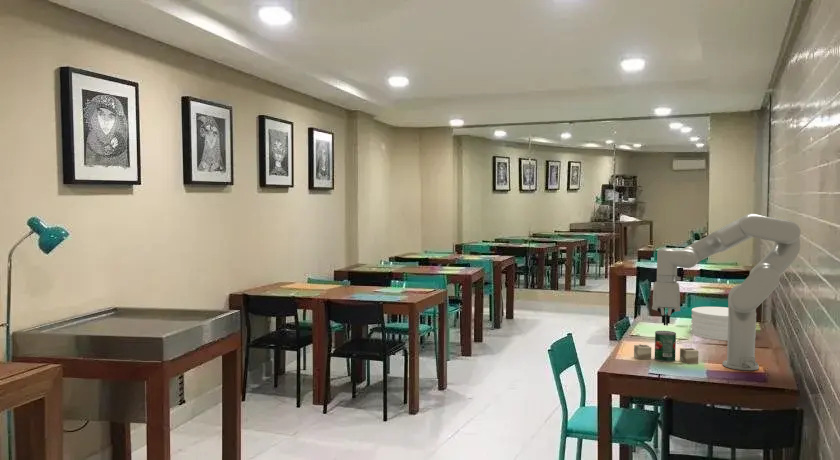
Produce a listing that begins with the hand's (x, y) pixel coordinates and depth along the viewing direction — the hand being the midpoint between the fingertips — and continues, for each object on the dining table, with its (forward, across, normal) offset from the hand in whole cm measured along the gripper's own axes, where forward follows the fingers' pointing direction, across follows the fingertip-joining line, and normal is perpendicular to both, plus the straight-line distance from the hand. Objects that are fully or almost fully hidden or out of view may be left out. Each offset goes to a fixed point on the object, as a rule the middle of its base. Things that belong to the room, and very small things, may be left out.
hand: (665, 324), depth 262 cm
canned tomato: (+14, 0, 0) cm, 14 cm away
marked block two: (+14, +9, +1) cm, 17 cm away
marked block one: (+14, -9, 0) cm, 17 cm away
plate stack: (+14, -27, -63) cm, 70 cm away
